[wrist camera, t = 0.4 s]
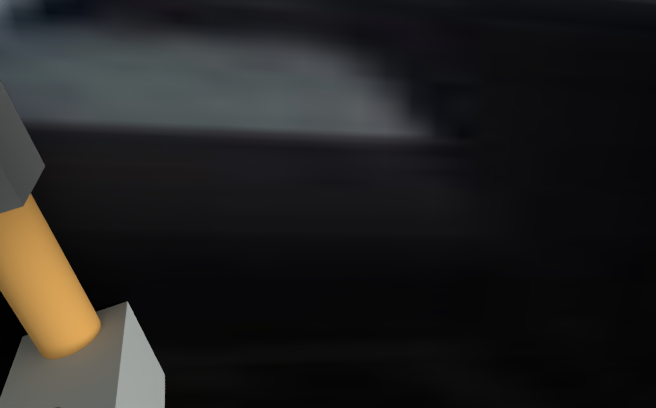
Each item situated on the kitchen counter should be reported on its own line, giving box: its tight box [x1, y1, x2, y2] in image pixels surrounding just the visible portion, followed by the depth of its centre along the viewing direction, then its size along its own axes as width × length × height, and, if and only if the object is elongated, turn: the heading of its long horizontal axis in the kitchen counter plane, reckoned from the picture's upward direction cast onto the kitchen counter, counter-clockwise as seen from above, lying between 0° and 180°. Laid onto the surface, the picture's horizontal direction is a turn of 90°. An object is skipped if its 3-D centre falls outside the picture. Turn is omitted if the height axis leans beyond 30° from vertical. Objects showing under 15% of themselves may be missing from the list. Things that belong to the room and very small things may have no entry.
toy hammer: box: [0, 80, 165, 408], centre depth 19 cm, size 21×4×6 cm, turn 14°
